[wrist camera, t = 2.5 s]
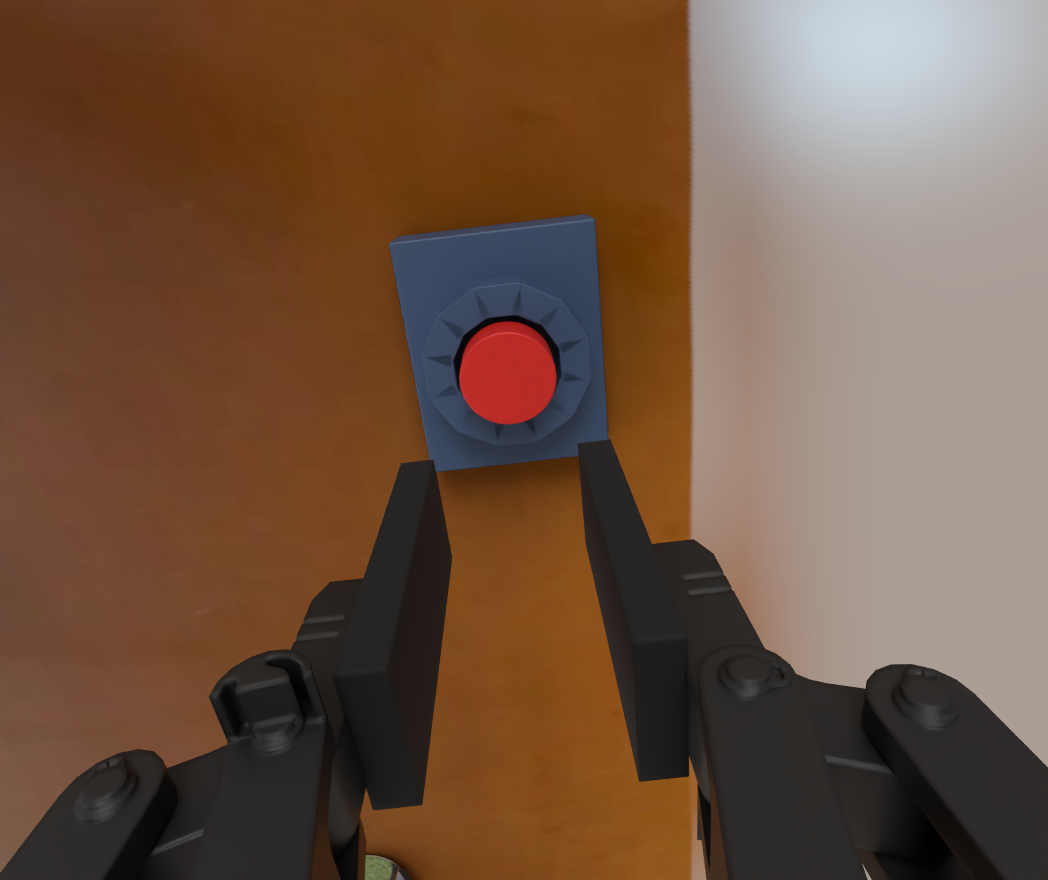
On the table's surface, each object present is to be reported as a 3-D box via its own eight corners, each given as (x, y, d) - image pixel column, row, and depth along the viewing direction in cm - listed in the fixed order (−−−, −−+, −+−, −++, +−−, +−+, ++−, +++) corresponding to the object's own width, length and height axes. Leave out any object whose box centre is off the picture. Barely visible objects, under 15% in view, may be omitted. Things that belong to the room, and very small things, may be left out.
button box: (396, 236, 26) (380, 248, 23) (587, 213, 26) (602, 222, 22) (436, 452, 30) (427, 492, 27) (602, 433, 30) (616, 471, 27)
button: (455, 326, 24) (452, 338, 23) (548, 315, 24) (551, 326, 23) (468, 413, 26) (466, 430, 24) (556, 403, 26) (560, 419, 24)
